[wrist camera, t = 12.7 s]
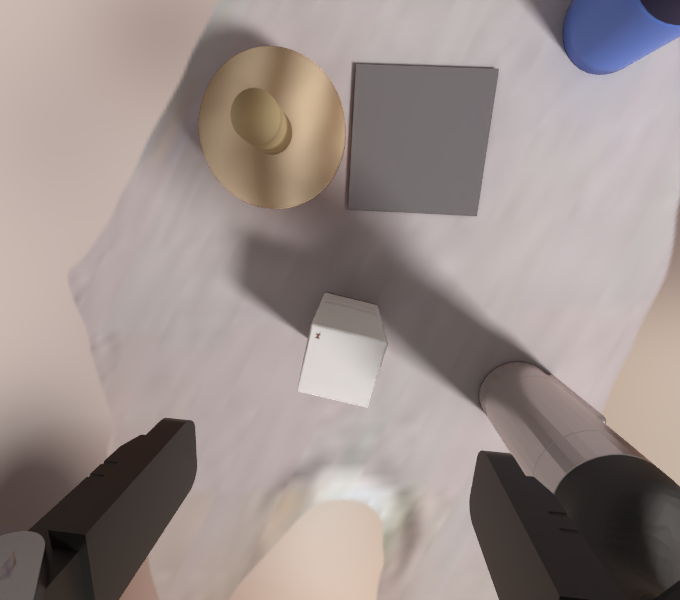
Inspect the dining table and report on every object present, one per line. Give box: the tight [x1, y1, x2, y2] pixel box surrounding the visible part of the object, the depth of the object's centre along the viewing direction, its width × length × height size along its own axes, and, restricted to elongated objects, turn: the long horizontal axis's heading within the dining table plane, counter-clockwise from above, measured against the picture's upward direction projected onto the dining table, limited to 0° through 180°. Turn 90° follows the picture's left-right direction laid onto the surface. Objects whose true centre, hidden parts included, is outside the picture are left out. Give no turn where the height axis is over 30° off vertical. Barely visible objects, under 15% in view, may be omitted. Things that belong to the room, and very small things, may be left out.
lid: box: [199, 46, 346, 209], centre depth 29 cm, size 14×14×6 cm
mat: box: [348, 64, 499, 216], centre depth 37 cm, size 15×15×1 cm
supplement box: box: [298, 293, 388, 408], centre depth 37 cm, size 7×7×13 cm
